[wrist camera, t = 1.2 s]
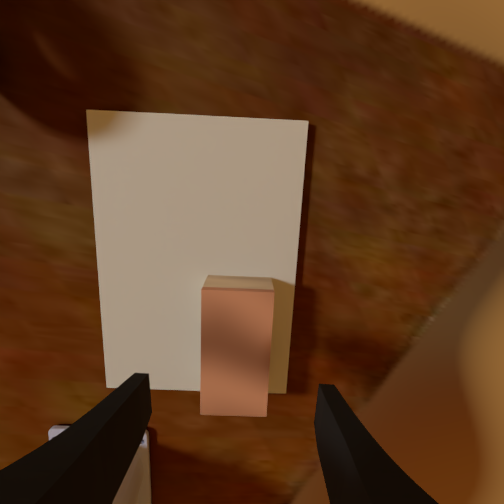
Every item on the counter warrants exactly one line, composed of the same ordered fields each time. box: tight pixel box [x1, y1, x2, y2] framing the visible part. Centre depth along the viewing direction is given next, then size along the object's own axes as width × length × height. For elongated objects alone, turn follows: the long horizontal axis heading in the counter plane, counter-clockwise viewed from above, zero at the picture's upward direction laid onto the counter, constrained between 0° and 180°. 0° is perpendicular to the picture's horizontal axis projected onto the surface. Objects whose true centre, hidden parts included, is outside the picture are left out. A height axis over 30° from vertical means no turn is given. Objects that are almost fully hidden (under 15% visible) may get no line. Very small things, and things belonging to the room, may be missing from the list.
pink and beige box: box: [200, 275, 275, 417], centre depth 21 cm, size 9×4×3 cm, turn 177°
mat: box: [86, 110, 308, 394], centre depth 21 cm, size 20×14×1 cm
